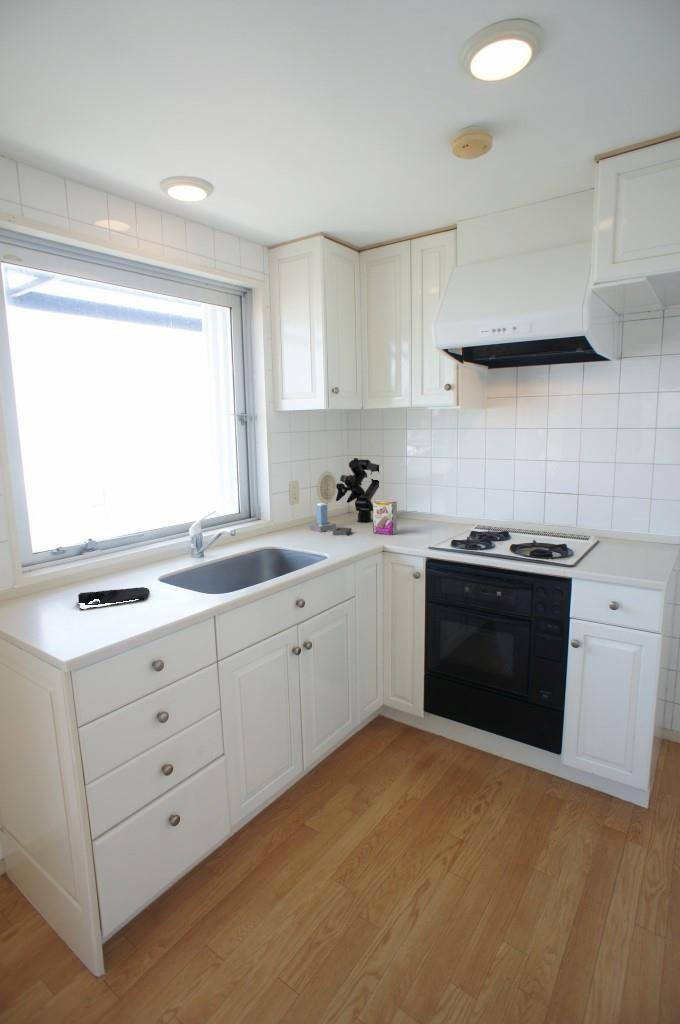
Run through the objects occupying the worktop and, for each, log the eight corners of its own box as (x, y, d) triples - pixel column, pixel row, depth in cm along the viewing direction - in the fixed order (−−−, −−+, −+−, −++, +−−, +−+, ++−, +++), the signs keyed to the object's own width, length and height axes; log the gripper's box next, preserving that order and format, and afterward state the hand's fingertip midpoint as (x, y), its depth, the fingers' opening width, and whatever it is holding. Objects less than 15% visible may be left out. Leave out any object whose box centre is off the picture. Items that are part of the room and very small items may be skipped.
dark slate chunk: (148, 603, 175) (147, 590, 174) (75, 612, 169) (73, 598, 168) (151, 590, 190) (149, 577, 189) (83, 597, 184) (81, 584, 183)
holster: (338, 532, 273) (338, 527, 272) (351, 532, 270) (351, 528, 269) (332, 535, 266) (332, 530, 266) (346, 535, 263) (346, 530, 263)
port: (324, 526, 287) (324, 520, 287) (336, 529, 279) (335, 522, 279) (309, 529, 281) (309, 523, 281) (320, 532, 273) (320, 525, 273)
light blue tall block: (323, 528, 283) (322, 502, 281) (327, 529, 280) (326, 503, 278) (317, 529, 281) (316, 503, 278) (321, 530, 278) (320, 504, 275)
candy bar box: (372, 533, 267) (372, 501, 264) (377, 531, 271) (376, 499, 268) (393, 535, 261) (392, 502, 258) (397, 533, 265) (397, 500, 262)
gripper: (337, 468, 291) (322, 490, 286) (360, 470, 276) (343, 493, 271) (349, 481, 297) (334, 503, 292) (371, 483, 282) (356, 507, 277)
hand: (341, 501), depth 283 cm, fingers open, 9 cm apart
